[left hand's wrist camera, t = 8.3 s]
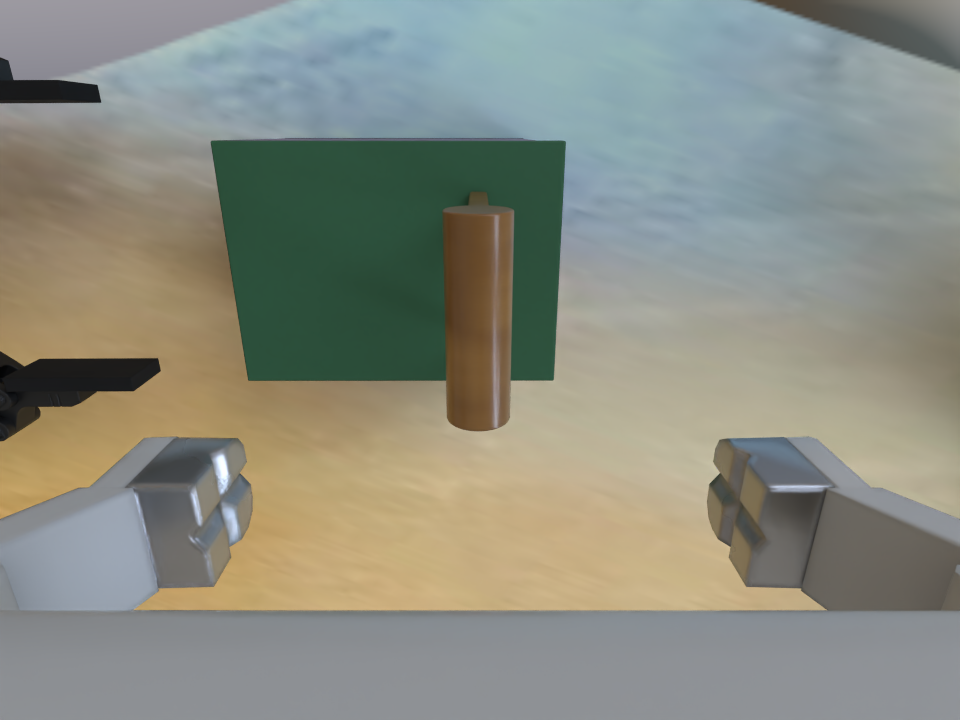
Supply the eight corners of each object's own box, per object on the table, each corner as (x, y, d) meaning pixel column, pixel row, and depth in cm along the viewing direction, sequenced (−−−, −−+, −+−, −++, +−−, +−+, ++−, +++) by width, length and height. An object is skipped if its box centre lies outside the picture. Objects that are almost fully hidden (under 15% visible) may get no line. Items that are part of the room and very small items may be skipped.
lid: (563, 140, 24) (609, 144, 15) (551, 372, 27) (583, 479, 19) (220, 140, 24) (76, 144, 15) (255, 373, 27) (155, 480, 19)
